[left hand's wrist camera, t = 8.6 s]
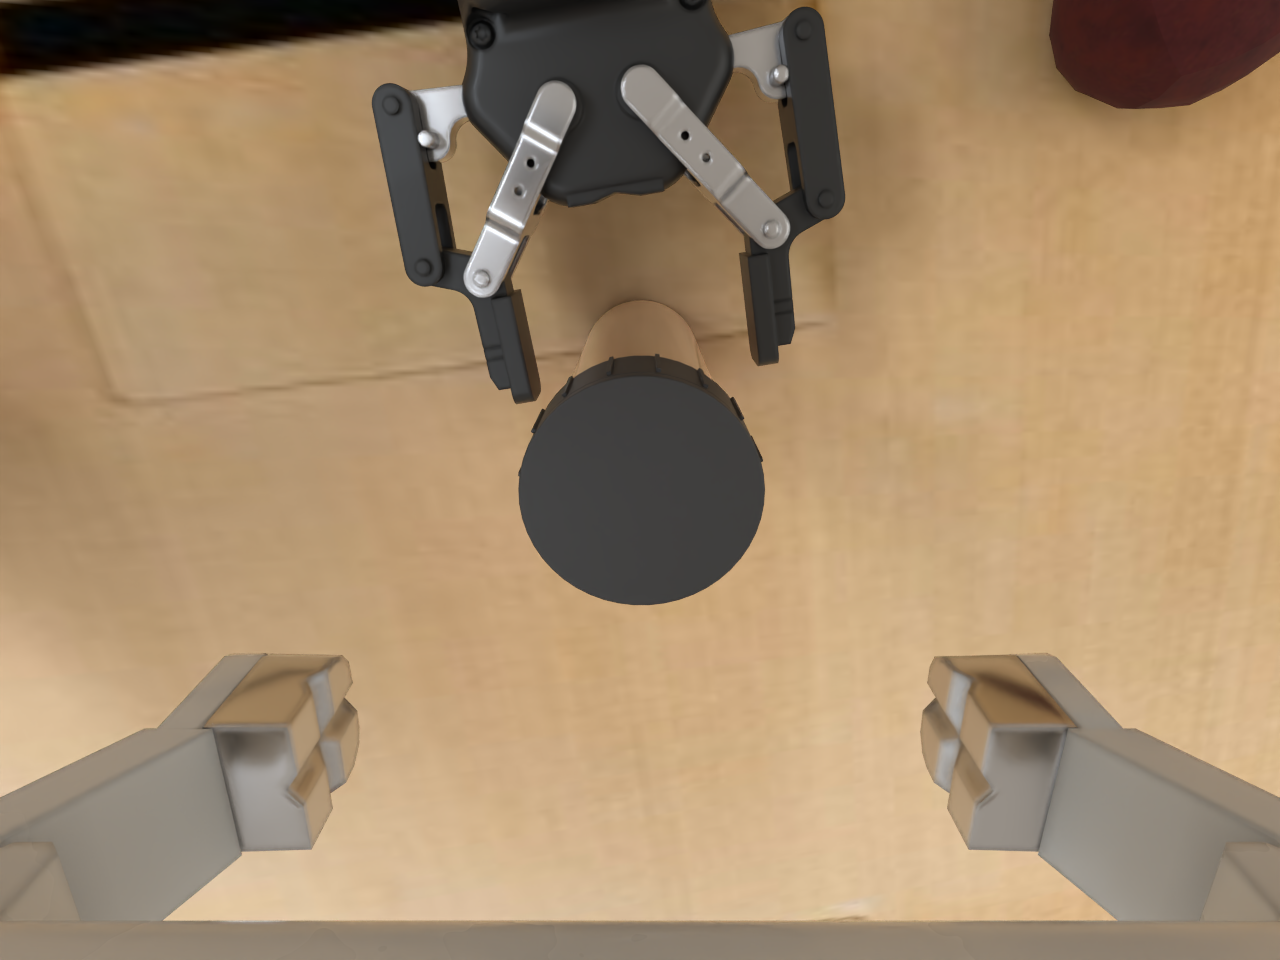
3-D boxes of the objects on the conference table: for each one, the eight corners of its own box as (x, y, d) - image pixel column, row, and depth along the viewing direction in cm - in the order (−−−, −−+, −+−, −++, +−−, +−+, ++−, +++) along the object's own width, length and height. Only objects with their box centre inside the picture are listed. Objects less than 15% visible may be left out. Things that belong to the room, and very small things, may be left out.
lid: (630, 304, 18) (629, 319, 16) (797, 453, 19) (818, 487, 17) (486, 472, 20) (466, 507, 17) (650, 600, 21) (652, 648, 19)
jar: (635, 275, 32) (631, 339, 16) (721, 352, 33) (792, 481, 18) (561, 362, 33) (492, 499, 18) (646, 434, 34) (650, 621, 19)
